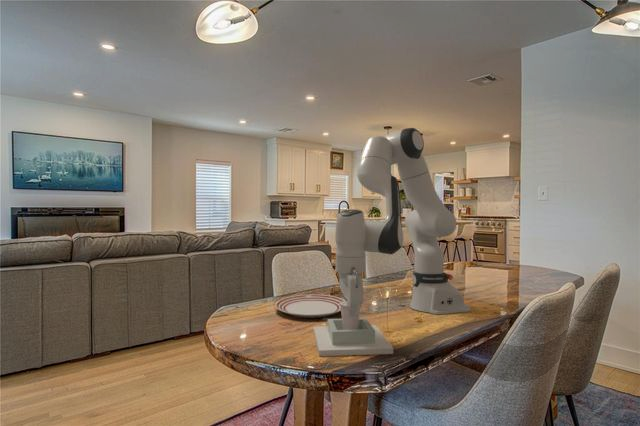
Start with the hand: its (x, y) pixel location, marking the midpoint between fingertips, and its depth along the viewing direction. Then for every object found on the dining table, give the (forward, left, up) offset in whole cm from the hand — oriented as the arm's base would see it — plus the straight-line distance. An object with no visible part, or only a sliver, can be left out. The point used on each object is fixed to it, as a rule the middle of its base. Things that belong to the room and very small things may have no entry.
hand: (350, 312), depth 109 cm
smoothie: (0, 0, -7) cm, 7 cm away
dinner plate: (+9, -34, -9) cm, 36 cm away
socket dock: (0, 0, -9) cm, 9 cm away
